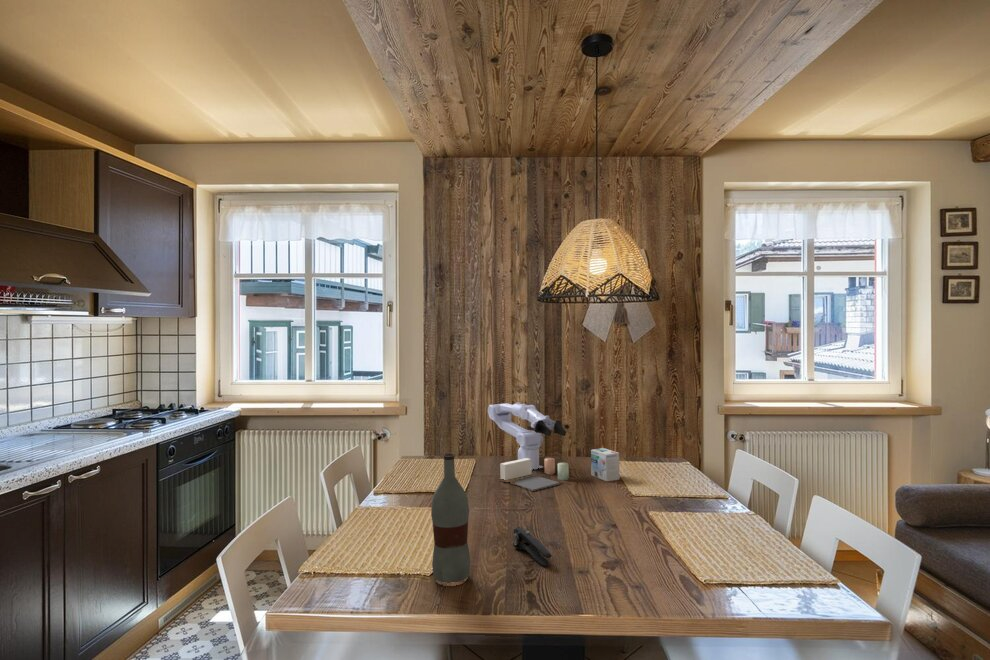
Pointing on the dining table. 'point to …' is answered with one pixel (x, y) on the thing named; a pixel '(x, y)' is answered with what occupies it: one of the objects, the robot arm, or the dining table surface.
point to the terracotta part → (549, 465)
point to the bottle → (450, 527)
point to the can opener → (530, 546)
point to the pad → (536, 483)
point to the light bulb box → (605, 464)
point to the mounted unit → (515, 469)
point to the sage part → (563, 471)
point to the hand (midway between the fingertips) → (557, 433)
